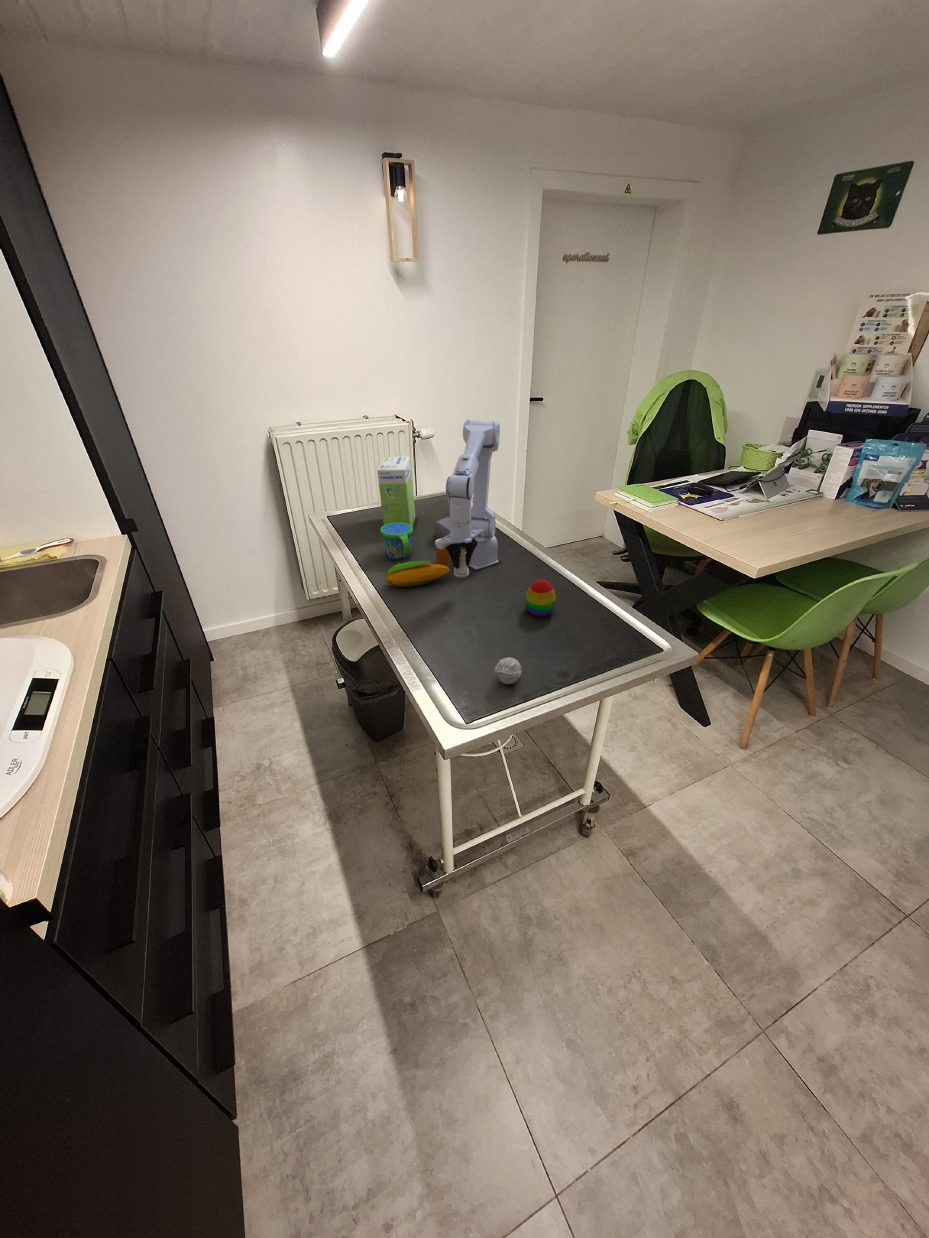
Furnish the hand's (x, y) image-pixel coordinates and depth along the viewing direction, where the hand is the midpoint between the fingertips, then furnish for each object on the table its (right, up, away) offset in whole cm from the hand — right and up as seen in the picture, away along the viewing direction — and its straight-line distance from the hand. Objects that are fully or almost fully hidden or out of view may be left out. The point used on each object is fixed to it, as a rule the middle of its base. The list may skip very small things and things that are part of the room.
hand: (461, 565), depth 137 cm
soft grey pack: (+1, +15, +41) cm, 43 cm away
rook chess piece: (0, -3, +2) cm, 3 cm away
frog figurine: (+11, -30, -27) cm, 42 cm away
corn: (-13, -4, +12) cm, 18 cm away
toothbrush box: (-24, +21, +50) cm, 59 cm away
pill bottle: (-6, +3, +22) cm, 23 cm away
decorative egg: (+22, -13, -2) cm, 26 cm away
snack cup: (-21, +6, +28) cm, 36 cm away
